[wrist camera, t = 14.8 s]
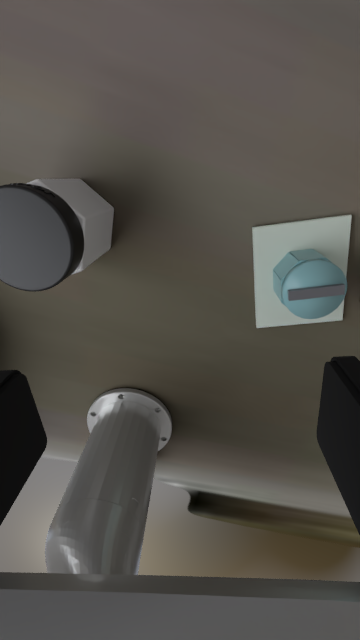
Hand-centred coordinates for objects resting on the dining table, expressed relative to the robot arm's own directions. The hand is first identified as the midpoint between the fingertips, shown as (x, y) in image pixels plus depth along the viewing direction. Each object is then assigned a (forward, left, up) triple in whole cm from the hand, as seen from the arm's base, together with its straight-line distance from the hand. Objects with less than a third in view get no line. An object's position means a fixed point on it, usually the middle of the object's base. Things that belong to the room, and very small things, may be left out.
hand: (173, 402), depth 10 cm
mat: (-5, -11, -27) cm, 30 cm away
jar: (+4, +13, -28) cm, 31 cm away
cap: (-5, -11, -27) cm, 30 cm away
